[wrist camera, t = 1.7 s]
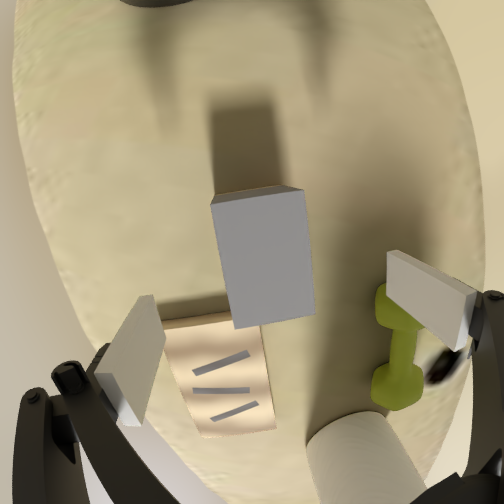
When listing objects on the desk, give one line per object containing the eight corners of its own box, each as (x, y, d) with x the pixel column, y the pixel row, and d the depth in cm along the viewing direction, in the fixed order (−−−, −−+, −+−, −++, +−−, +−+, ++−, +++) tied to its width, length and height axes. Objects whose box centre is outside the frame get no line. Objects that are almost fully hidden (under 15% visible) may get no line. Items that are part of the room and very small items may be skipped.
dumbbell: (361, 282, 29) (395, 312, 22) (417, 266, 29) (456, 289, 22) (359, 387, 34) (379, 423, 27) (406, 369, 34) (431, 399, 27)
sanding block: (214, 195, 25) (210, 204, 17) (280, 184, 25) (304, 190, 18) (231, 286, 28) (234, 329, 20) (291, 276, 28) (315, 314, 20)
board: (160, 320, 28) (156, 330, 26) (255, 306, 28) (257, 315, 26) (202, 427, 33) (202, 438, 31) (274, 418, 33) (276, 428, 31)
